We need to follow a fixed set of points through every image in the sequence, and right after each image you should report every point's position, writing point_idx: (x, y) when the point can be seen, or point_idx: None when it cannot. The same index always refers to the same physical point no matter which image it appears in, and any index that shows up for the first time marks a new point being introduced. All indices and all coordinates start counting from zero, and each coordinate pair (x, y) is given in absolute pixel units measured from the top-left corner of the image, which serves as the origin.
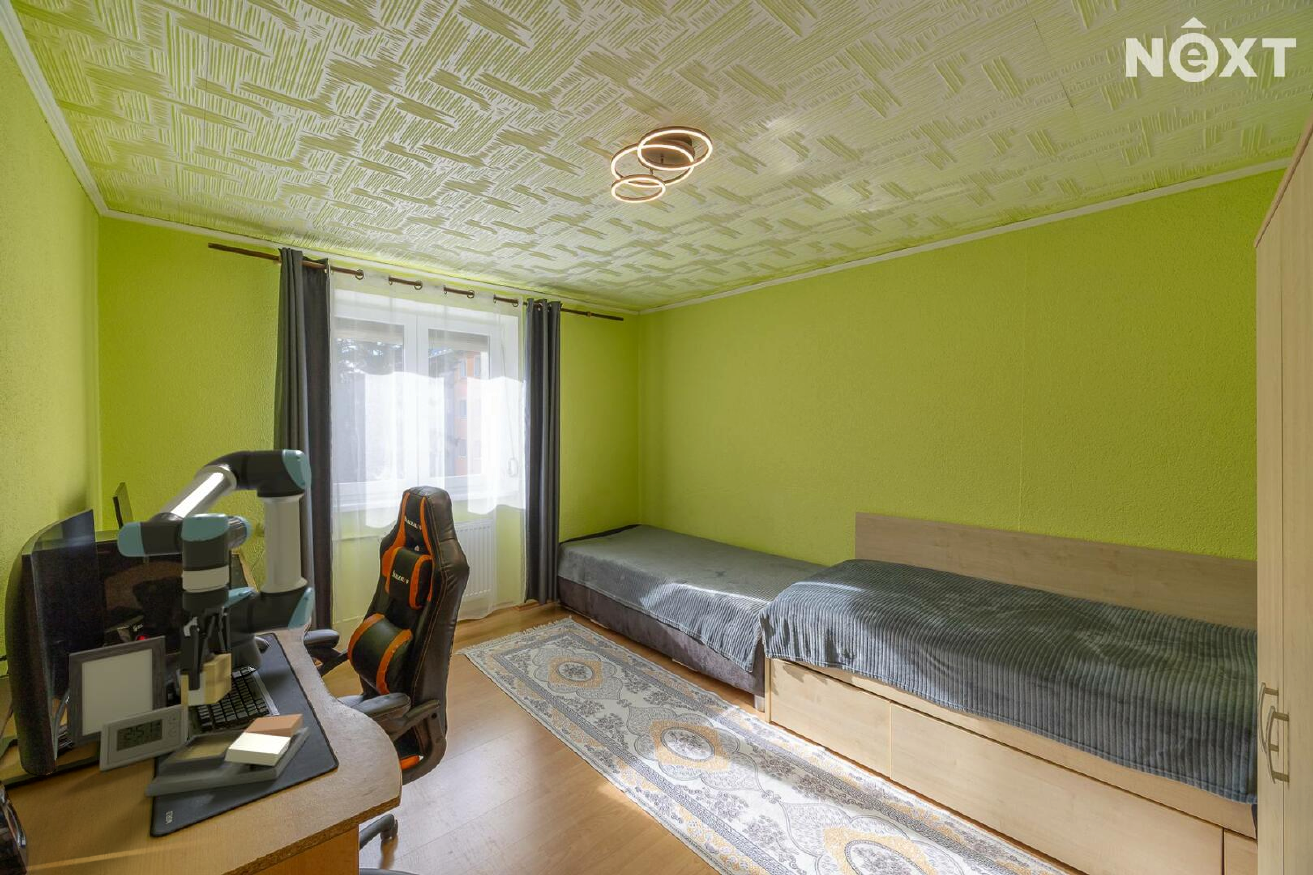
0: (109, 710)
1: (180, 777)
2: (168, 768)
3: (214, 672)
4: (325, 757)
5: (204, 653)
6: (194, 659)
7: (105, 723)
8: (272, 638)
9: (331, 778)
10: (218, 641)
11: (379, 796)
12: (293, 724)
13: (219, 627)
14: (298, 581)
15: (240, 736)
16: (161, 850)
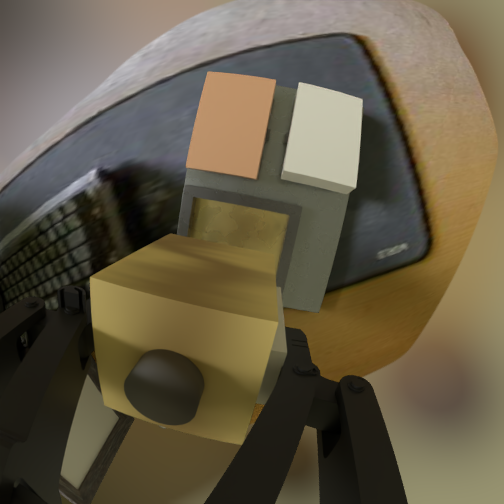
0: (93, 415)
1: (315, 268)
2: None
3: (276, 302)
4: (315, 47)
5: (262, 432)
6: (386, 438)
7: (164, 427)
8: None
9: (384, 44)
10: (54, 384)
11: (434, 15)
12: (260, 77)
13: (6, 471)
14: None
15: (304, 173)
16: (456, 234)
